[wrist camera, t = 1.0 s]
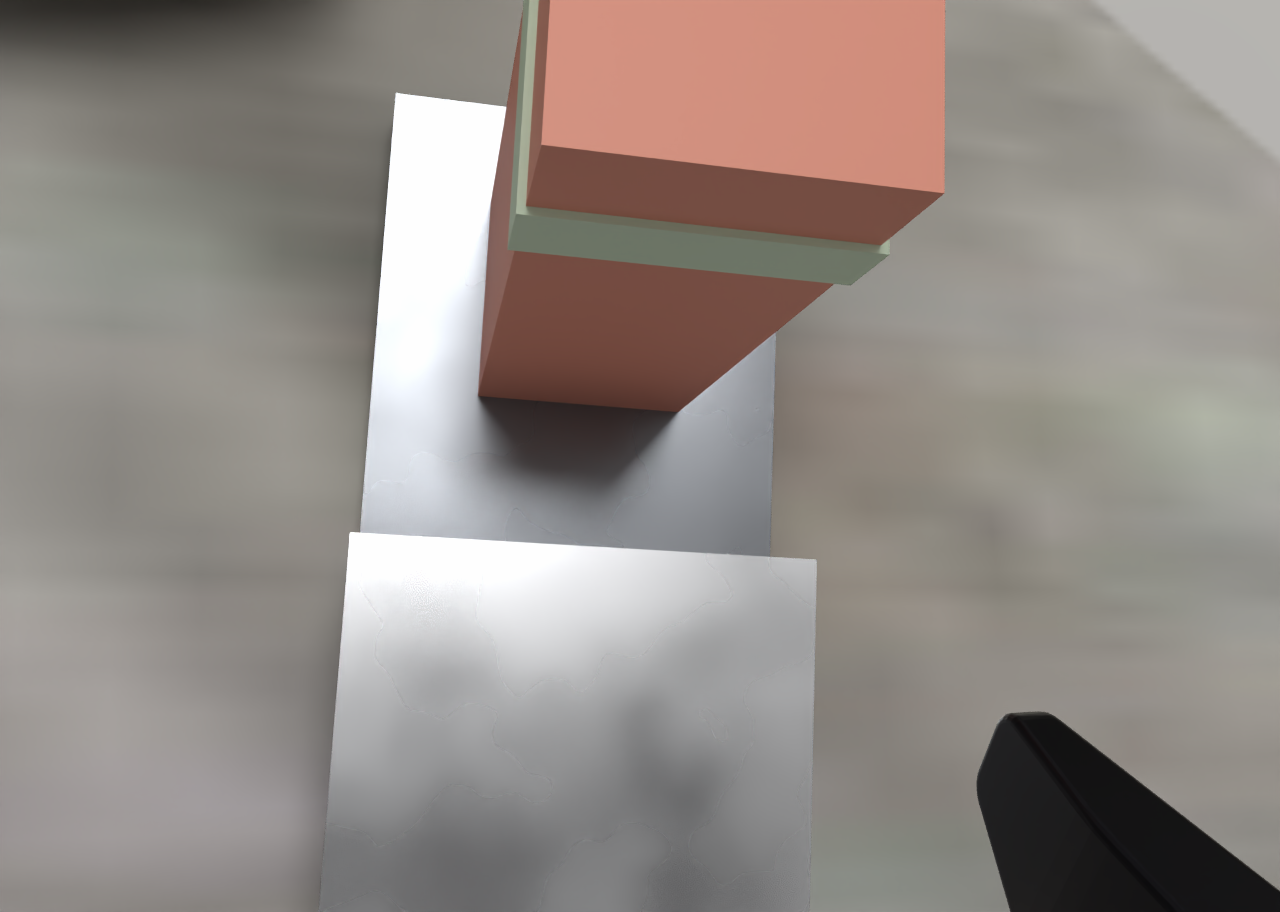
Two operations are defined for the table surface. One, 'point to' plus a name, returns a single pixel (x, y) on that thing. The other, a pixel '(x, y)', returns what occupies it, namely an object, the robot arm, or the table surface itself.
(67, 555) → the table surface
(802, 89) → the salmon pink rectangular block
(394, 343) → the stand base
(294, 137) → the table surface
